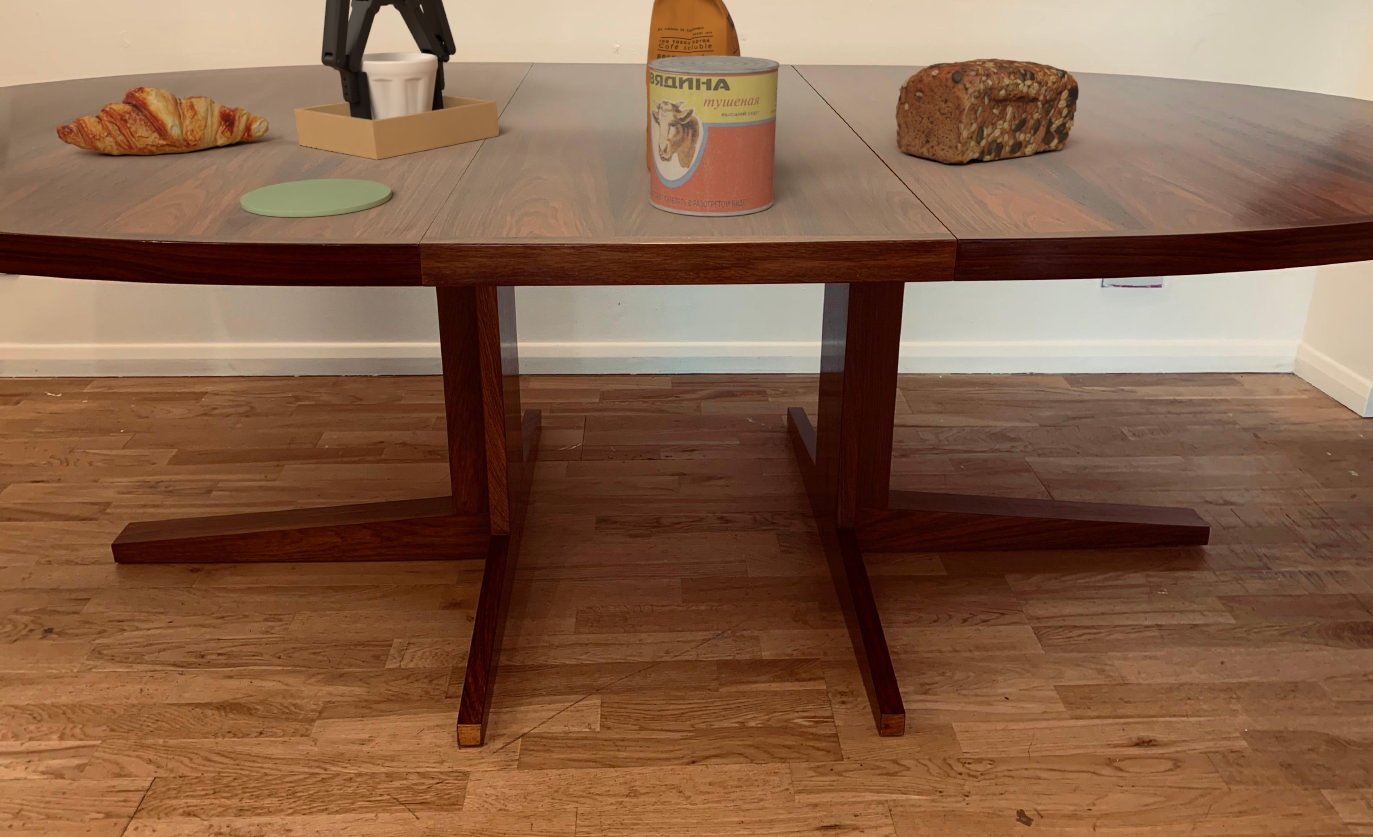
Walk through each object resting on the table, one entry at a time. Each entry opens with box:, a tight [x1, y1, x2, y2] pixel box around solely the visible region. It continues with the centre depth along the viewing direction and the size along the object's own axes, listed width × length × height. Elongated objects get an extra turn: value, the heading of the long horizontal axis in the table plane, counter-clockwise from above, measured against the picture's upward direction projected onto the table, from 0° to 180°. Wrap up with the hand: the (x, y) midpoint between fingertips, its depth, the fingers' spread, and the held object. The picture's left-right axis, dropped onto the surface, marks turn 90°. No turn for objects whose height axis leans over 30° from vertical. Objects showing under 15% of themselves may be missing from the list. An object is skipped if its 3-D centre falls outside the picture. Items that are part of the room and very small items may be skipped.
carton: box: [293, 94, 500, 161], centre depth 118 cm, size 14×18×4 cm
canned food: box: [648, 56, 780, 217], centre depth 90 cm, size 11×11×12 cm
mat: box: [239, 178, 393, 218], centre depth 92 cm, size 13×13×1 cm
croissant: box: [55, 86, 270, 156], centre depth 112 cm, size 21×10×8 cm, turn 120°
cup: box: [358, 52, 438, 120], centre depth 116 cm, size 10×10×9 cm
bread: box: [894, 57, 1080, 165], centre depth 112 cm, size 19×11×10 cm, turn 123°
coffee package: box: [645, 0, 742, 170], centre depth 103 cm, size 10×12×22 cm
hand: (400, 125), depth 118 cm, fingers closed on cup, 10 cm apart
